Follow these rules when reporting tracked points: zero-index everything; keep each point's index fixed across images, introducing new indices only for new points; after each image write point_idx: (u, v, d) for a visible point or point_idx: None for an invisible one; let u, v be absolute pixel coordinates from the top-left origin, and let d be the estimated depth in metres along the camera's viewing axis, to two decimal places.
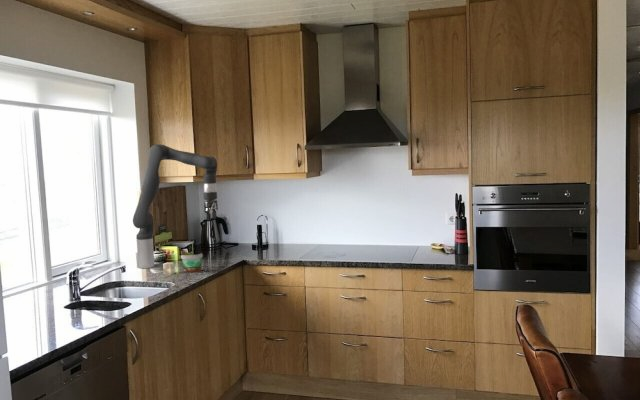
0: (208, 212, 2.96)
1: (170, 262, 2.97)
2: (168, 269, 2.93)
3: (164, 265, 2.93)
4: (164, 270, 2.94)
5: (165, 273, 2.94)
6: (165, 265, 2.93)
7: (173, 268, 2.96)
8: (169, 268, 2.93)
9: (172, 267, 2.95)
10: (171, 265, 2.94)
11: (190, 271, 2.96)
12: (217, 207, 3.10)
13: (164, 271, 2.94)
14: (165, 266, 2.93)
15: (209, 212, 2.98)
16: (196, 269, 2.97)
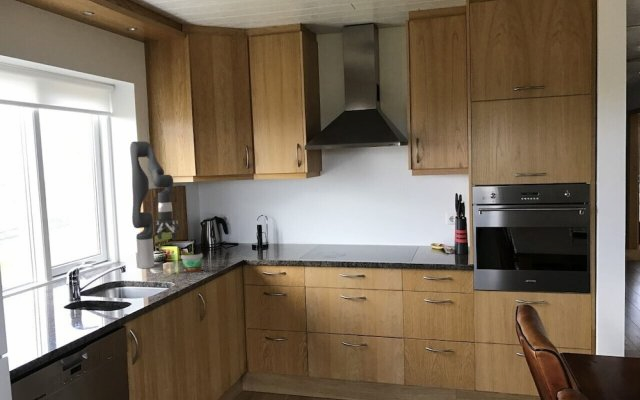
0: None
1: (170, 262, 2.97)
2: (168, 269, 2.93)
3: (164, 265, 2.93)
4: (164, 270, 2.94)
5: (165, 273, 2.94)
6: (165, 265, 2.93)
7: (173, 268, 2.95)
8: (169, 268, 2.93)
9: (172, 267, 2.95)
10: (171, 265, 2.94)
11: (190, 271, 2.96)
12: None
13: (164, 271, 2.94)
14: (165, 266, 2.93)
15: None
16: (196, 269, 2.97)
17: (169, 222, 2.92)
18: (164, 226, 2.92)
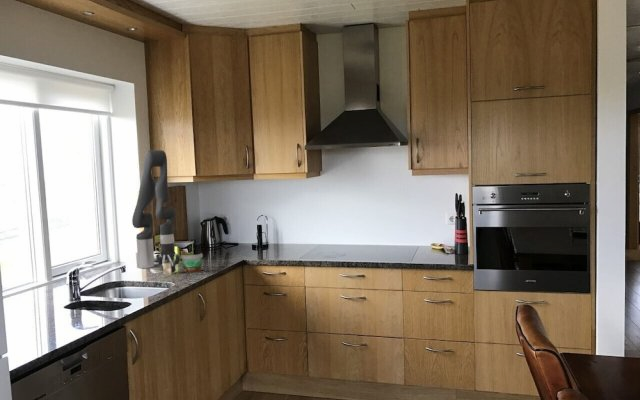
0: None
1: None
2: (168, 269, 2.93)
3: (164, 265, 2.93)
4: (164, 270, 2.94)
5: (165, 273, 2.94)
6: (165, 265, 2.93)
7: None
8: (169, 267, 2.93)
9: None
10: (171, 265, 2.94)
11: (190, 271, 2.96)
12: None
13: (164, 271, 2.94)
14: (165, 266, 2.93)
15: None
16: (196, 269, 2.97)
17: (171, 255, 2.93)
18: (167, 257, 2.94)
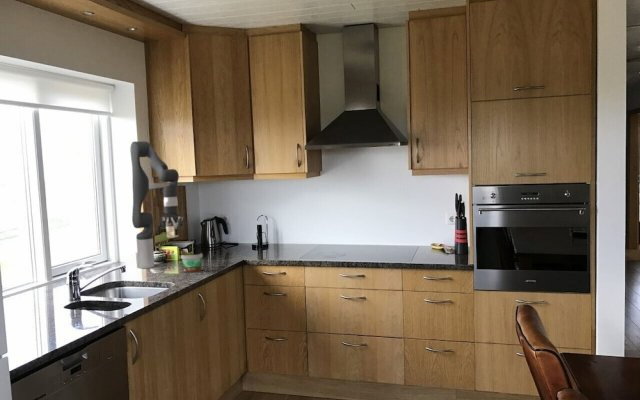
0: (181, 226, 2.94)
1: None
2: (172, 232, 2.91)
3: (167, 228, 2.92)
4: (167, 233, 2.92)
5: (168, 236, 2.92)
6: (168, 228, 2.92)
7: None
8: (173, 230, 2.91)
9: None
10: (174, 228, 2.92)
11: (190, 271, 2.96)
12: None
13: (167, 234, 2.92)
14: (169, 229, 2.92)
15: None
16: (196, 269, 2.97)
17: (175, 217, 2.92)
18: (170, 220, 2.92)
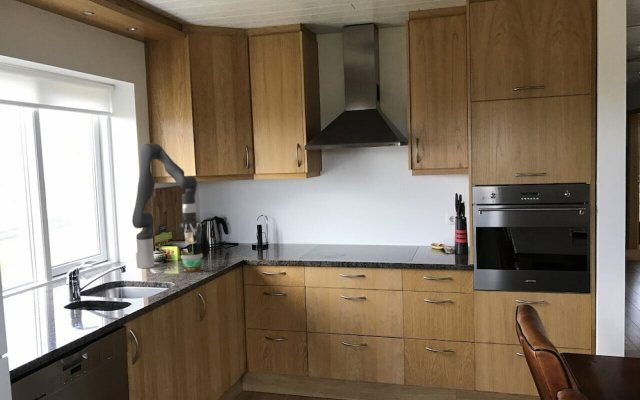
0: None
1: None
2: (190, 238, 2.94)
3: (186, 234, 2.94)
4: (186, 239, 2.94)
5: (187, 242, 2.94)
6: (187, 234, 2.94)
7: None
8: (191, 237, 2.93)
9: None
10: (193, 234, 2.94)
11: (190, 271, 2.96)
12: None
13: (186, 240, 2.94)
14: (187, 235, 2.94)
15: (197, 233, 2.96)
16: (196, 269, 2.97)
17: (193, 224, 2.94)
18: (189, 226, 2.95)
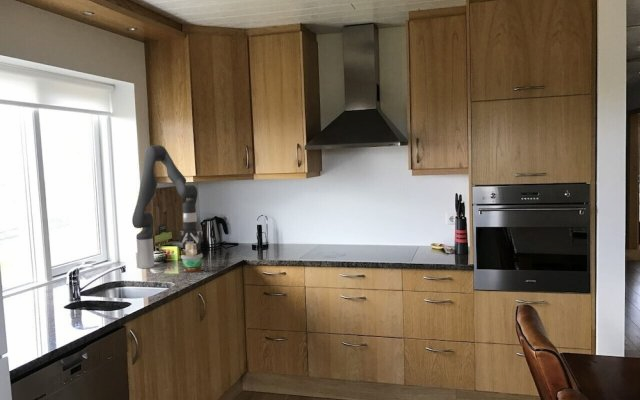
0: None
1: (192, 243, 2.98)
2: (191, 250, 2.94)
3: (186, 246, 2.95)
4: (186, 251, 2.95)
5: (187, 254, 2.95)
6: (187, 246, 2.94)
7: (195, 249, 2.97)
8: (192, 248, 2.94)
9: (194, 248, 2.96)
10: (193, 246, 2.95)
11: (190, 271, 2.96)
12: None
13: (186, 252, 2.95)
14: (188, 247, 2.95)
15: None
16: (196, 269, 2.97)
17: (194, 232, 2.94)
18: (189, 236, 2.95)
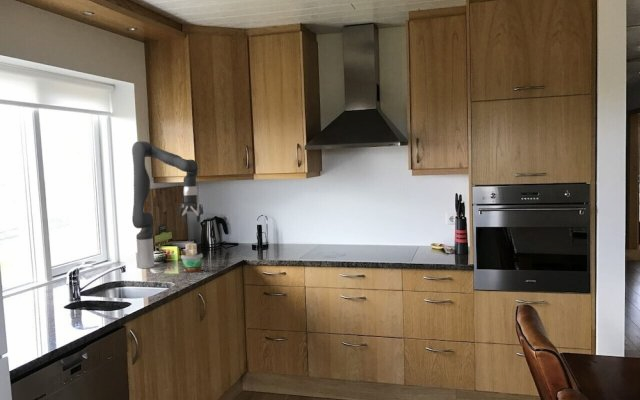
0: None
1: (192, 243, 2.98)
2: (191, 250, 2.94)
3: (186, 246, 2.95)
4: (186, 251, 2.95)
5: (187, 254, 2.95)
6: (187, 246, 2.95)
7: (195, 249, 2.97)
8: (192, 248, 2.94)
9: (194, 248, 2.96)
10: (193, 246, 2.95)
11: (190, 271, 2.96)
12: None
13: (186, 252, 2.95)
14: (188, 247, 2.95)
15: None
16: (196, 269, 2.97)
17: (194, 205, 3.03)
18: (189, 209, 3.04)
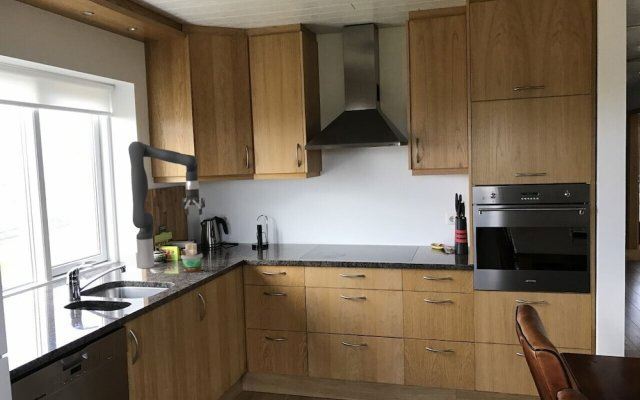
0: None
1: (192, 243, 2.98)
2: (191, 250, 2.94)
3: (186, 246, 2.95)
4: (186, 251, 2.95)
5: (187, 254, 2.95)
6: (187, 246, 2.95)
7: (195, 249, 2.97)
8: (192, 248, 2.94)
9: (194, 248, 2.96)
10: (193, 246, 2.95)
11: (190, 271, 2.96)
12: None
13: (186, 252, 2.95)
14: (188, 247, 2.95)
15: None
16: (196, 269, 2.97)
17: (196, 199, 3.15)
18: (191, 203, 3.16)
